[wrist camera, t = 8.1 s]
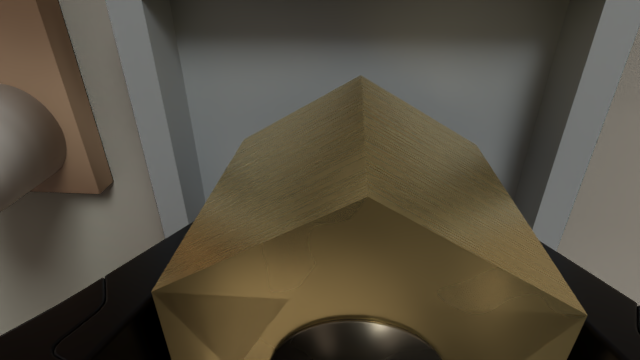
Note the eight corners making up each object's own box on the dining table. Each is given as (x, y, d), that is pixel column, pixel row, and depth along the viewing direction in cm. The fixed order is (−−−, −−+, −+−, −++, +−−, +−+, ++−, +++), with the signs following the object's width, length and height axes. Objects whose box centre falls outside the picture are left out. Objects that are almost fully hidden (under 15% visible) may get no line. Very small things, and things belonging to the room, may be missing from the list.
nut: (445, 294, 11) (502, 504, 7) (259, 284, 12) (203, 478, 7) (490, 77, 8) (643, 208, 4) (236, 73, 9) (116, 190, 4)
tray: (500, 299, 14) (521, 346, 13) (207, 284, 15) (188, 327, 13) (606, -48, 9) (667, -50, 7) (140, -44, 10) (93, -45, 8)
